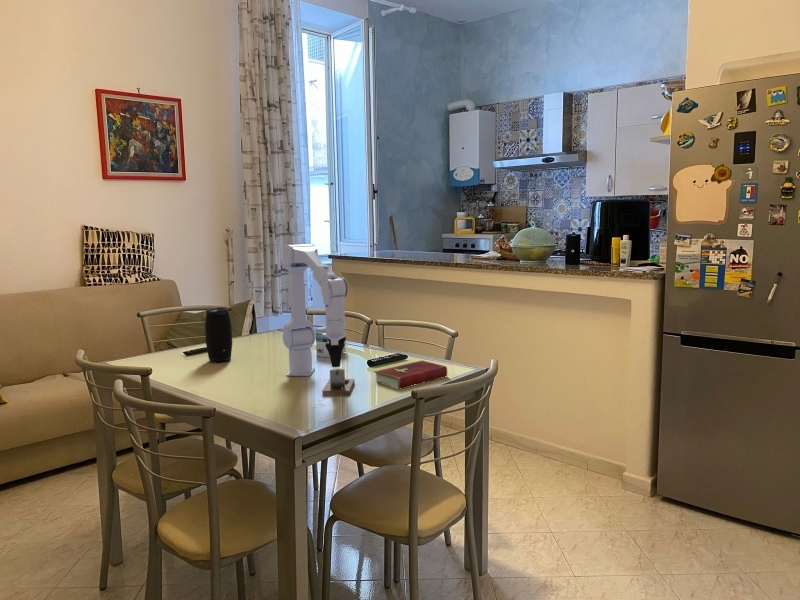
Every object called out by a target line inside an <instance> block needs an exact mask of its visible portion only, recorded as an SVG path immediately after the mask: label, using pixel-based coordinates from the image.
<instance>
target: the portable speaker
mask: <svg viewBox="0 0 800 600" xmlns="http://www.w3.org/2000/svg"><path fill="white" fill-rule="evenodd" d="M232 328H233V327H232V320H231V315H230V312H229V309H228V307H225V306H224V307H223V306H221V307H220V306H219V307H217V308H206V310H205V322H204V329H205V330H204V331H205V344H206V350H207V357H208V360H209V362H210V363H211V362H220V361H226V362H230V361H232V359H231V358H232V352H233V349H232V348H233V329H232ZM229 360H230V361H229Z"/></svg>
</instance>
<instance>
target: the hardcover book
mask: <svg viewBox="0 0 800 600" xmlns="http://www.w3.org/2000/svg"><path fill="white" fill-rule="evenodd" d="M374 373H375V380H376V381H377V382H376V381H375V382H376V383H378V382H380V383H379V384H381V383H384V384H383V385H385V384H387V385H386V386H388V385H390V386H389V387H391V386H393V387H392V388H394V387H396V388H395V389H397V388H398V389H397V390H401V389H400V388H402V389H405V388H404V387H406V388H408V387H407V386H410V387H412V386H411V385H414V384H418V385H421V384H420V383H422V384H424V383H423V382H425V383H429V382H432V380H433V381H436V380H435V379H437V380H439V379H438V378H441V377H444V378H446V377H445V376H447V377H448V366H446V365H443V364H439V363H435V362H431V361H426V360H423V359H422V360H418V361H414V362H410V363H405V364H399V365H395V366H392V367H391V366H390V367H388V368H387V367H386V368H384V369H379V370H374ZM441 379H442V378H441ZM428 381H429V382H428ZM414 386H415V385H414Z"/></svg>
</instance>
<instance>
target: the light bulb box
mask: <svg viewBox="0 0 800 600" xmlns="http://www.w3.org/2000/svg"><path fill="white" fill-rule="evenodd" d="M323 333H326V325H324V326H320V327H318V328H315V336H316V339H315V351H316V355H315V356H316V357H323V358H329V359H330V355H329V352H328V350H327V348H326V346H325V344H326V343H329V341H328V340H327V339H328V338H327V337H322V334H323ZM346 340H347V339H346ZM346 340H345V342H344V344H345V346H344V348H343V350H342V353H343V354H345V353H344V352H347V351H346V350H347V349H346Z"/></svg>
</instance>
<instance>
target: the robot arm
mask: <svg viewBox="0 0 800 600" xmlns="http://www.w3.org/2000/svg"><path fill="white" fill-rule="evenodd" d="M282 253H283V254H282V256H283V267H284V269H285V270H287V271H288V285H289V302H290V320H288V321H287V322H286V323H285V324H284V325H283V332H282V333H283V334H282V342H283V346H285V348H287V349H288V362H289V363H288V365H289V371H288V372H287V373H286V377H300V376H301V377H304V376H305V377H310V376H311V374H313V373H314V371H315V369H316V367H313V356H312V355H313V354H312V349H311V348H312V347H313V345H314V344H315V343H316V330H315V329H314V323H313V322H311V321H310V320H309V319H307V310H306V309H307V308H306V307H307V306H306V291H305V274H304V273H305V271H306V270H307V269H310V270H311V271H312V272H313V273H312V276H313V279H314V280H315V281H316V282H317V284H318V285H319V287H320V288H321V289H320V292H321V296H322V300H323V304H324V308H325V310H324V311H325V326H326V333H323V334H322V337H327V338H328V339H327V340H328V341H329V343H326V344H325V346H326V348H327V350H328V352H329V355H330V358H329V359H330V363H331V367H332V368H340V366H341V360H342V355H343V354H342V350H343V348H344V346H345V344H344V342H345V340H347V333H346V311H345V310H346V307H345V302H346V301H345V298H346V297H347V296H348V293H349V286H348V282H347V280H346V278H345V277H340V276H338V275H337V274H336V273H335V272H334V271H333V270H332V269H331V268H330V266H329V265H328V264H323V262H322V261H321V259H320V258H319V251H318V247H317V245H315V243H310V244H309V243H308V244H307V243H306V244H304V243H303V244H286V245H285V247H284V250H283V252H282Z"/></svg>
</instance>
